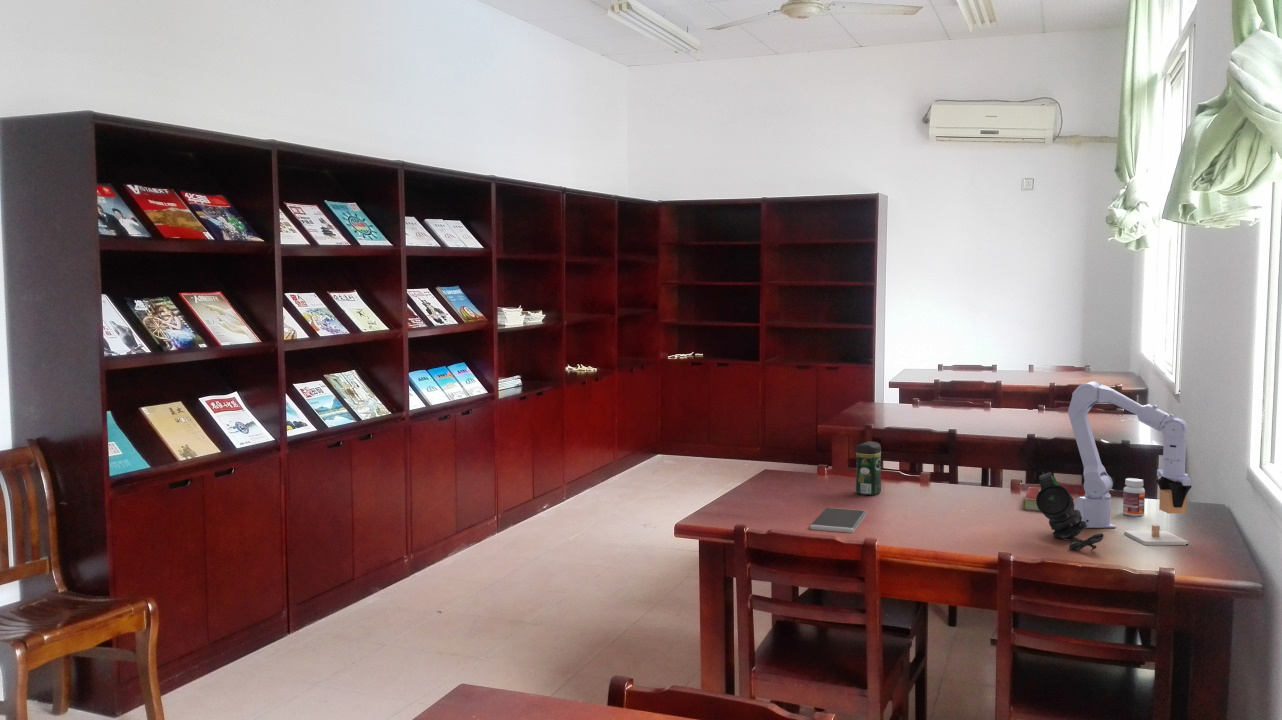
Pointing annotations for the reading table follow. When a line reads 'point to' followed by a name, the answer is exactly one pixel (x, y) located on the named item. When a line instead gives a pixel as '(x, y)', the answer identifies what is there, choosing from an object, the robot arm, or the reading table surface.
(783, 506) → the reading table surface
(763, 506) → the reading table surface
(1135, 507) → the pill bottle
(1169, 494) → the tan wooden cube
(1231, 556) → the reading table surface
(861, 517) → the smartphone
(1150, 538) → the post plate
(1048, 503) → the headset
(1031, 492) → the hardcover book
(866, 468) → the coffee jar
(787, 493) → the reading table surface
